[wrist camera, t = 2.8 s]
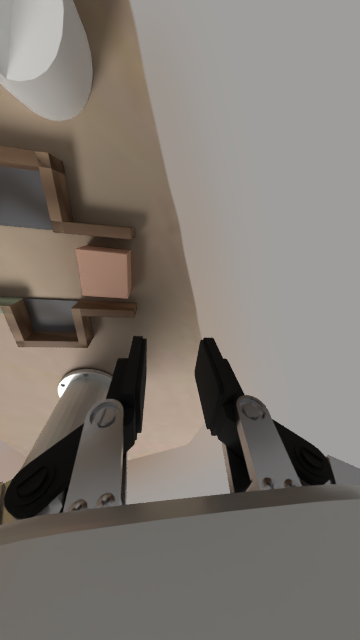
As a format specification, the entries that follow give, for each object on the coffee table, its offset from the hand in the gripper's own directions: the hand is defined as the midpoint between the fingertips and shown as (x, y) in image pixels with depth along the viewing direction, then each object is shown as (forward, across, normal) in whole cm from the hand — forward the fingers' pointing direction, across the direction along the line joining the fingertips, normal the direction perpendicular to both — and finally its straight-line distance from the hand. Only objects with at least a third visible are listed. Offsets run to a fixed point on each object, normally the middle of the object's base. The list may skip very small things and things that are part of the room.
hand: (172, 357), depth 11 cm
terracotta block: (+19, +8, 0) cm, 21 cm away
